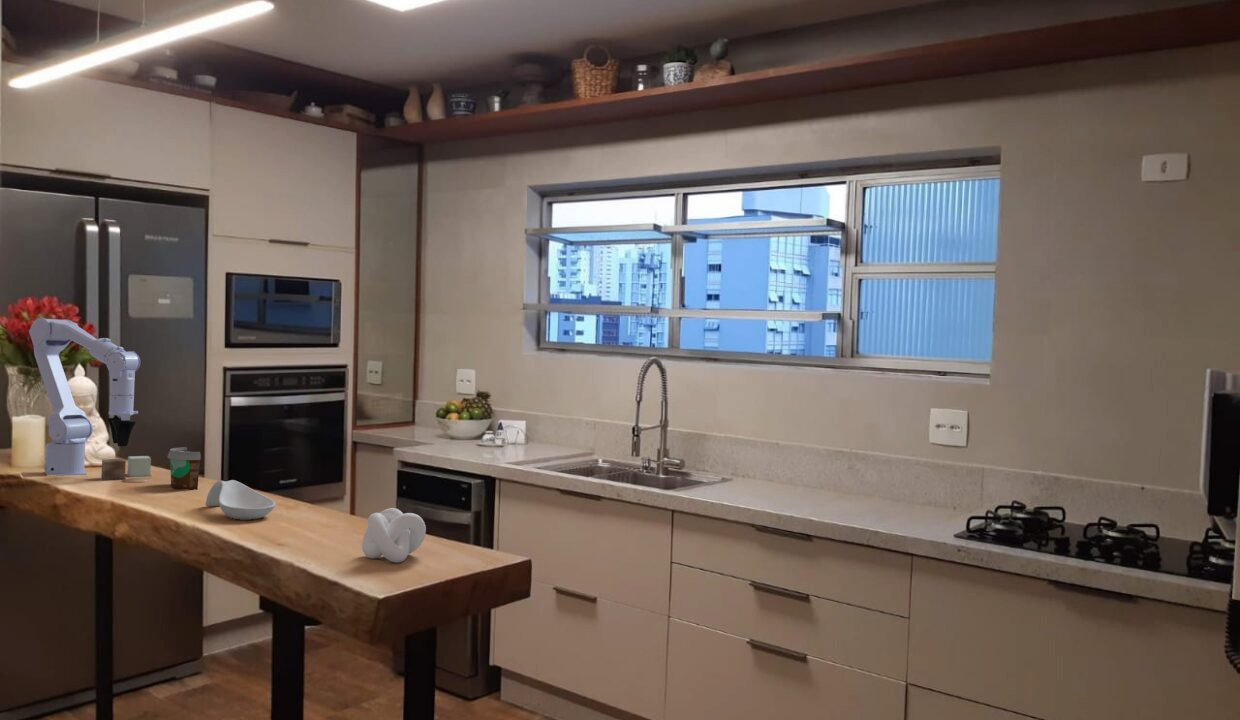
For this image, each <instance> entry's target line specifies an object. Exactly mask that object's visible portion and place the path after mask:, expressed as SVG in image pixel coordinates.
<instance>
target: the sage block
mask: <svg viewBox="0 0 1240 720" xmlns="http://www.w3.org/2000/svg"><path fill="white" fill-rule="evenodd" d="M151 465H152V458H151V456H149V455H136V456H135V455H134V456H133V455H131V456H127V470H126V471H127V473H126V474H128V475H129V476H130V477H129V478H135V477H134V476H145V477H151V476H150V475H151Z"/></svg>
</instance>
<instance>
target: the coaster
mask: <svg viewBox="0 0 1240 720" xmlns="http://www.w3.org/2000/svg"><path fill="white" fill-rule="evenodd" d="M151 482H153V479H152V478H149V477H147V478H146V477H128V478H126V479H124V480H122V483H127V484H129V483H130V484H141V483H143V484H144V483H151Z"/></svg>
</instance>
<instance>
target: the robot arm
mask: <svg viewBox="0 0 1240 720" xmlns="http://www.w3.org/2000/svg"><path fill="white" fill-rule="evenodd" d="M28 333H29V336H30V339H31V341H32V345H33V354H34V358H35V361H36V365H37V367H38V369H39V373H40V376H41V378H42V382H43V385H44V388H45V391H46V393H47V396H48V399H49V402H50V405H51V408H52V413H51V414H50V415H49V416H48V418H47V424H48V437H49V438H50V439H51V440H52V442H50V443H49V442H48V443H46V446H45V463H44V468H43V469H44V473H45V472H46V474H47V475H56V476H55V477H59V476H61V477H64V476H65V475H66V476H83V475H84V476H86V475H88V473H87V472H86V470H85V463H86V462H85V459H86V443H88V439H90V438H91V436H92V434H93V431H94V427H93V423H92V422H91V420H90V419H89V418H88V416H87V414H86V412H85V411H84V410H82V409H81V408H79V407H78V406H77V405H76V403H75V400H74V397H73V395H72V392H71V391H72V390H71V388H70V385H69V383H68V379H67V376H66V374H65V371H64V368H63V364H62V362H61V359H60V356H59V355H60V353H61V352H63V351H64V350H65V348H67V346H68V345H69V344H70V343H71V342H74V343H76V344H78V345H80V346H82V347H84V348H86V349H87V350H88V353H89V354H90V356H92V357H93V358H94V359H97V360H98V361H99V362H101V363H103V364H105V365H106V367H107V368H106V369H107V370H108V371H109V372H108V373H109V377H110V390H109V393H110V394H109V411H108V415H112V416H113V417H106V421H107V423H108V425H109V428H110V433H111V439H112V443H113V444H117V447H127V446H128V443H129V440H130V437H131V433H132V431H133V428H134V426H135V425H136V423H137V420H131V416H133V415H138V414H139V411H138V410H134V407H135V406H134V405H135V404H134V402H135V381H136V379H135V378H136V377H135V376H136V372H137V371H138V370H139V368H140V366H141V358H140V356H139V355H138V353H136V352H135V351H134V350H133V351H132V350H129V351H126V350H125V348H124V347H122V346H118V345H116V344H114V343H113V342H112V339H110V338H107V337H102V338H101V337H100V338H96V337H95V336H93V334H90V333H89V332H87V331H86V330H85V329H83V328H81V326H79V324H78V323H77V322H74V321H72V320H70V319H65V318H64V319H55V318H54V319H53V318H44V317H38V318H36V319H35V320H34V321H33V322H32V325H31V326H30V328H29V330H28ZM46 474H45V475H46ZM47 475H46V476H47ZM57 475H58V476H57Z"/></svg>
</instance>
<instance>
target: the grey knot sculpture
mask: <svg viewBox="0 0 1240 720" xmlns="http://www.w3.org/2000/svg"><path fill="white" fill-rule="evenodd" d="M425 523H426V522H425V521H424V519H423V518H422V517H421V516H420V515H418V514H416V513H412V512H405V513H404V512H403V511H401V510H400V509H399V508H396V507H395V508H394V507H389V508H386V509H385V508H384V510H381V511H380V512H374V513H372V514H370V515H369V516H368V518H367V528H366V529H365V532H364V534H363V537H362V538H363V539H362V543H361V546H362V547H361V549H362V552H363V553H364V555H365V557H367V558H368V559H371V560H373V559H379V558H381V557H382V556H383V557H384V558H385V559H386V560H388V561H389V562H391V563H395V564H398V563H399V564H400V563H402V562H404V561H405V560H406V559H407V558H408V556H409V555H410V554H412V553H414V552H416V551H417V549H419V548H420V547H421V545H422V544H423V543H424V541H425V537H426V533H427V532H426V531H427V527H426V526H427V525H426V524H425Z"/></svg>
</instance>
